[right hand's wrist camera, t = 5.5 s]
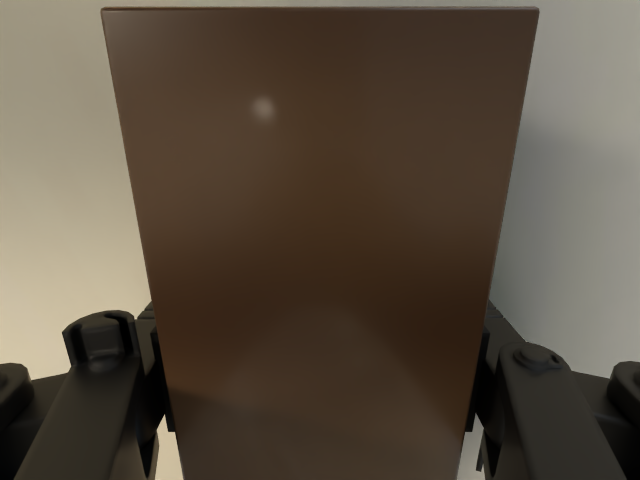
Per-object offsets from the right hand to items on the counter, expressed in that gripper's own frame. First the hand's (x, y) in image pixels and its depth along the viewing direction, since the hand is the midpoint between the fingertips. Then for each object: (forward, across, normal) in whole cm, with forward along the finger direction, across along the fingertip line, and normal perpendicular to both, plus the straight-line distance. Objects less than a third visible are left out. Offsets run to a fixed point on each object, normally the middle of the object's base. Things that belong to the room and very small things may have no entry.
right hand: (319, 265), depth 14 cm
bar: (+1, 0, -33) cm, 33 cm away
